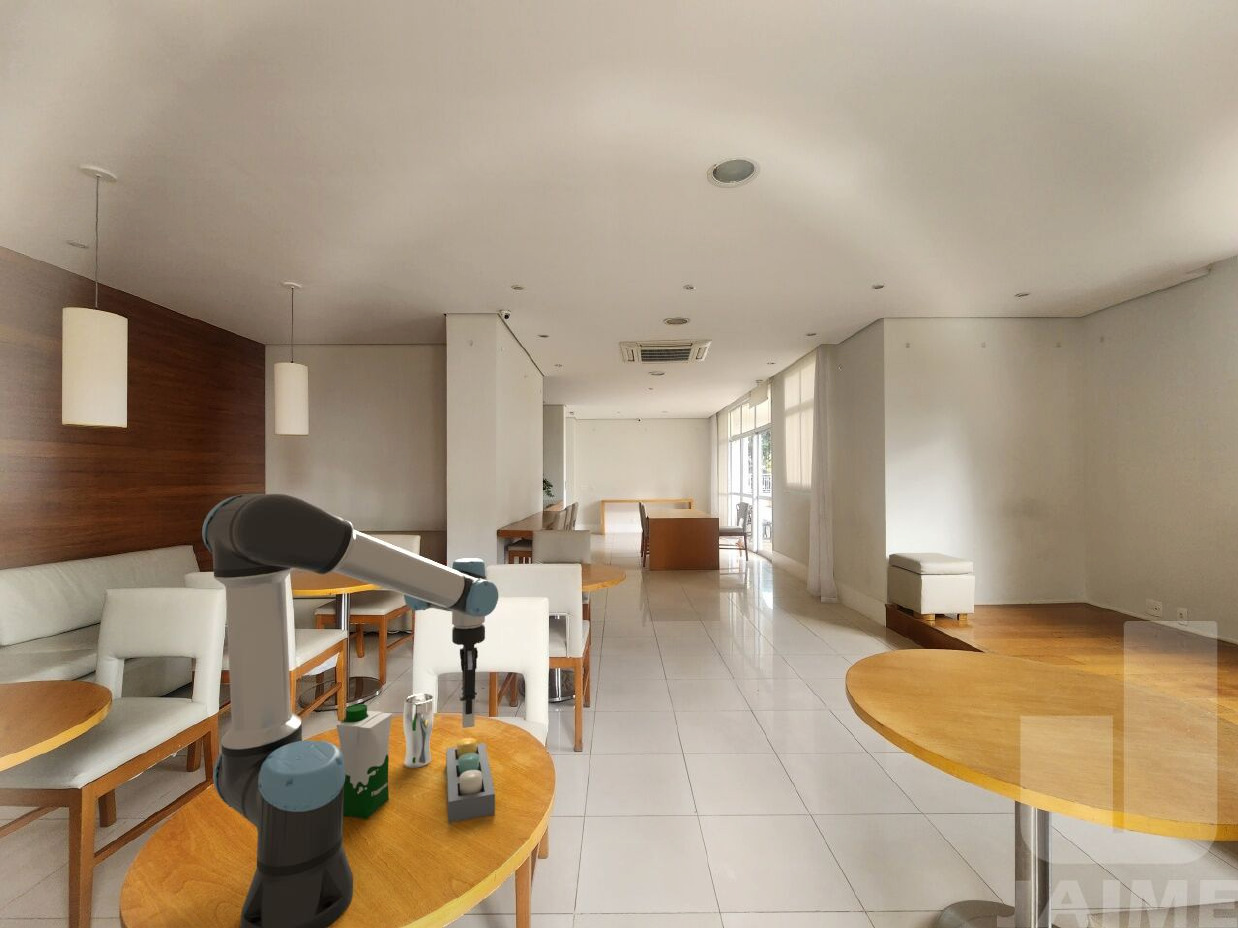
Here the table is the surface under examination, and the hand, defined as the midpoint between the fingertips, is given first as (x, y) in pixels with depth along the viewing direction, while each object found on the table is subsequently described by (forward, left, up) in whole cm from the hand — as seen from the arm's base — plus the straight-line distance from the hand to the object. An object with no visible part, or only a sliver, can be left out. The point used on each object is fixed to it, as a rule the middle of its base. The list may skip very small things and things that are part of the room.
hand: (468, 725), depth 129 cm
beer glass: (+8, +11, -10) cm, 17 cm away
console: (-8, 0, -10) cm, 13 cm away
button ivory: (-16, 0, -7) cm, 18 cm away
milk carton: (-9, +21, -10) cm, 25 cm away
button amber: (0, 0, -7) cm, 7 cm away
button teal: (-8, 0, -7) cm, 11 cm away
